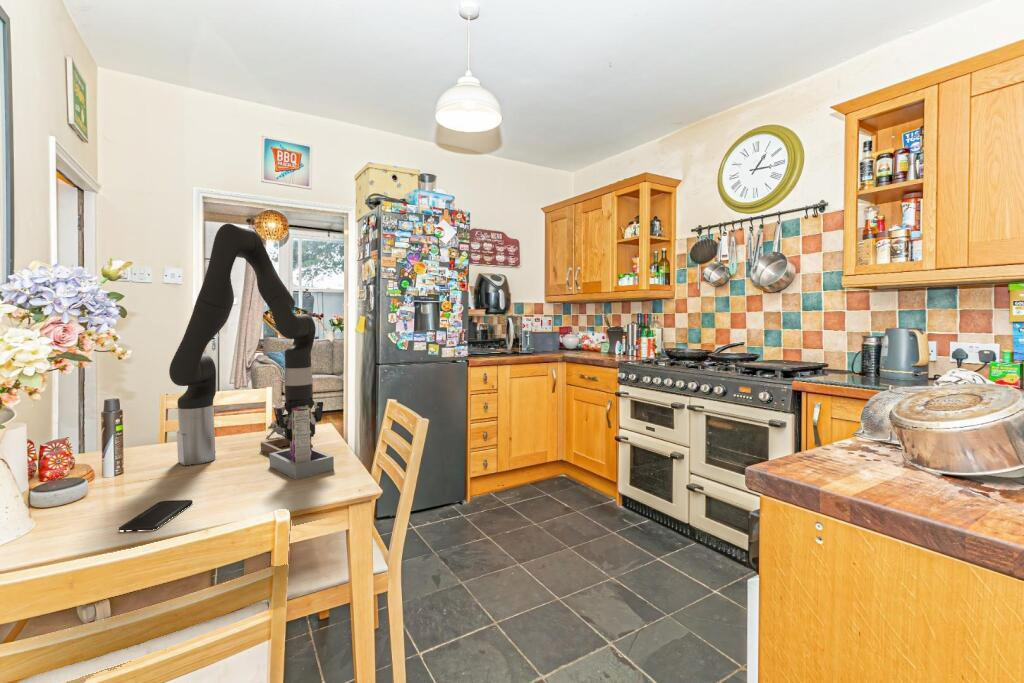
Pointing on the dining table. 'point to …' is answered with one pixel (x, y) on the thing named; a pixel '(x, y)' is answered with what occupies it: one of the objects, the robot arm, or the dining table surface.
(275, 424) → the elephant figurine
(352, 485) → the dining table surface
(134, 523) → the phone
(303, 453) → the candy bar box
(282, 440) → the walnut collar
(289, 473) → the grey tray
